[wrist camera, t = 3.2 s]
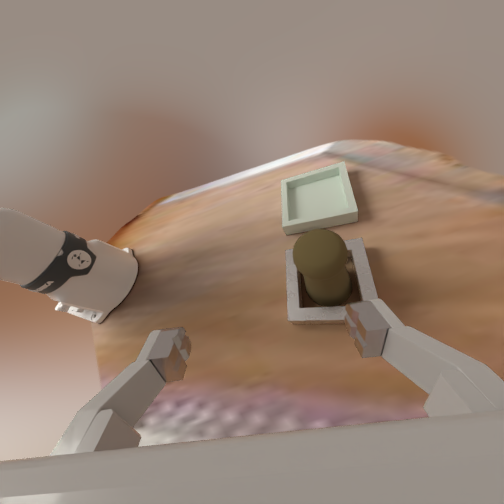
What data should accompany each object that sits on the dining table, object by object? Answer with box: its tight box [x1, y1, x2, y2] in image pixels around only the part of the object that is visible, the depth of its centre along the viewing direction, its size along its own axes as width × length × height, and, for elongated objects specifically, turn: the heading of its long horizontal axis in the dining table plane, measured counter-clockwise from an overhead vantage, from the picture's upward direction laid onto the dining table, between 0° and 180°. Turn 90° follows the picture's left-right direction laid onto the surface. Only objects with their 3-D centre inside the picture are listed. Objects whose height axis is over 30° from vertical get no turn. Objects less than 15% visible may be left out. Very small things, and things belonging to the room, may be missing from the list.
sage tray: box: [281, 161, 358, 235], centre depth 33 cm, size 11×11×2 cm
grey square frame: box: [286, 238, 378, 324], centre depth 26 cm, size 10×10×2 cm
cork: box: [292, 229, 352, 307], centre depth 22 cm, size 6×6×11 cm
